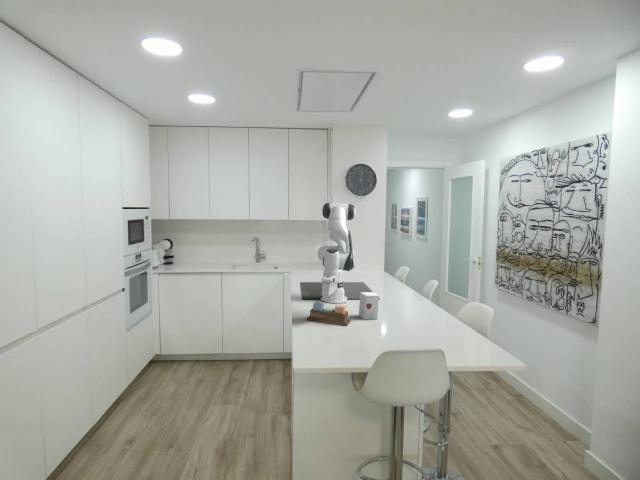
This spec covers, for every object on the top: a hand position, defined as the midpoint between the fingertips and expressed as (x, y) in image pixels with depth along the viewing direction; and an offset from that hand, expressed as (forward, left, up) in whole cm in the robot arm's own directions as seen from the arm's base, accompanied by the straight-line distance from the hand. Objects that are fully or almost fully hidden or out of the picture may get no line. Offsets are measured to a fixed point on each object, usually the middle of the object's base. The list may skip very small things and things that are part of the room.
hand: (329, 300), depth 230 cm
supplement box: (-17, +20, -12) cm, 29 cm away
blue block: (0, -6, -7) cm, 10 cm away
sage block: (0, 0, -10) cm, 10 cm away
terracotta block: (0, +7, -7) cm, 10 cm away
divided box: (0, 0, -12) cm, 12 cm away
